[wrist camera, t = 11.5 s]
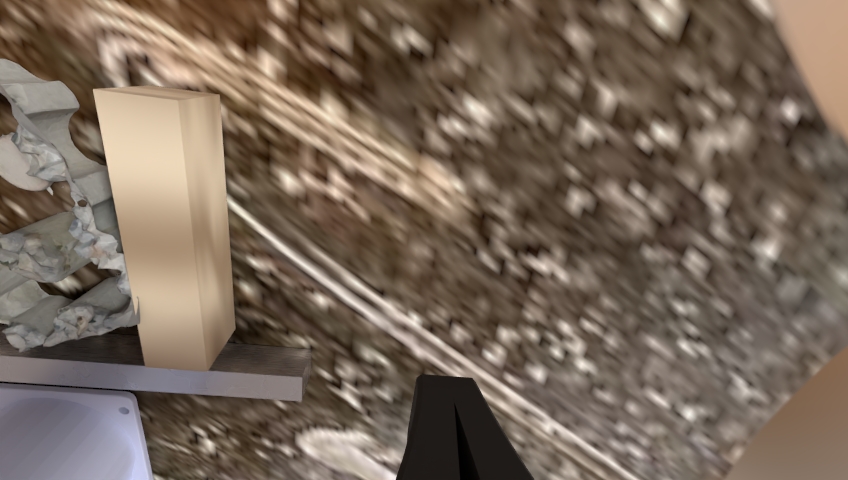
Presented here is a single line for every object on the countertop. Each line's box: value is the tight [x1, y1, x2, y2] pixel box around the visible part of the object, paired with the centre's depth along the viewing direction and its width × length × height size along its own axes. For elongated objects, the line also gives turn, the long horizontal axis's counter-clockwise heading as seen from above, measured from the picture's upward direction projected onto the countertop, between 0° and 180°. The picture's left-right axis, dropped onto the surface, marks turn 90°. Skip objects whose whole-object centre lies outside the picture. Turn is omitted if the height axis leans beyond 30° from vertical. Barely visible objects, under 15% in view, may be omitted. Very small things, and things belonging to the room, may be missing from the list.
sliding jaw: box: [93, 86, 236, 372], centre depth 16 cm, size 11×2×3 cm, turn 172°
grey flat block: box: [0, 325, 312, 401], centre depth 16 cm, size 14×18×3 cm
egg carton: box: [0, 59, 140, 353], centre depth 15 cm, size 11×8×4 cm
